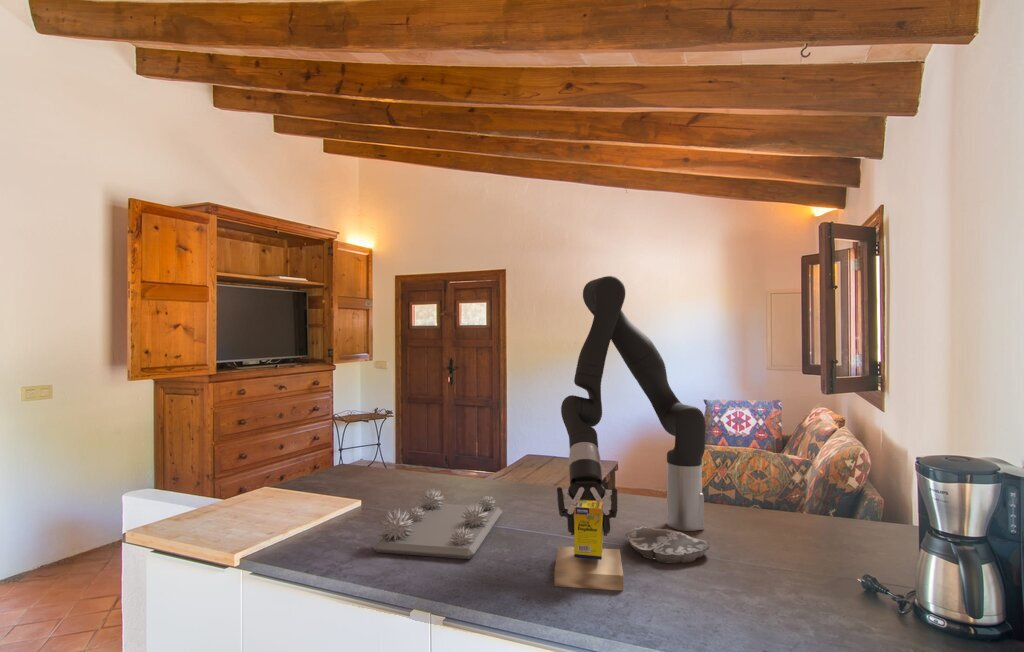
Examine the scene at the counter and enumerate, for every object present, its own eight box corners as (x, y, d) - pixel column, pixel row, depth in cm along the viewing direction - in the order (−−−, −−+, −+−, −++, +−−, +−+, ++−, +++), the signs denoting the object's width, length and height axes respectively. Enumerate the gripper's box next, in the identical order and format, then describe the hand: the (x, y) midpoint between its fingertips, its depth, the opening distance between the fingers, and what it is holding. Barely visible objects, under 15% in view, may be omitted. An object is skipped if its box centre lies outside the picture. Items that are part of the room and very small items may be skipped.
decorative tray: (472, 564, 123) (472, 520, 123) (367, 556, 128) (367, 514, 128) (503, 516, 157) (503, 482, 158) (419, 511, 162) (419, 477, 163)
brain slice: (611, 554, 129) (611, 542, 129) (640, 534, 142) (640, 523, 142) (693, 576, 117) (693, 562, 117) (716, 552, 130) (716, 540, 130)
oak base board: (619, 562, 123) (619, 549, 123) (623, 590, 109) (623, 575, 109) (558, 559, 125) (558, 546, 125) (554, 585, 111) (554, 571, 111)
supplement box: (602, 560, 114) (602, 508, 114) (573, 558, 115) (573, 506, 116) (603, 549, 120) (603, 500, 120) (576, 547, 121) (576, 498, 121)
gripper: (555, 457, 126) (556, 525, 114) (616, 457, 125) (624, 526, 113) (554, 474, 131) (555, 541, 119) (614, 475, 130) (621, 542, 118)
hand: (589, 533), depth 116 cm, fingers closed on supplement box, 6 cm apart
